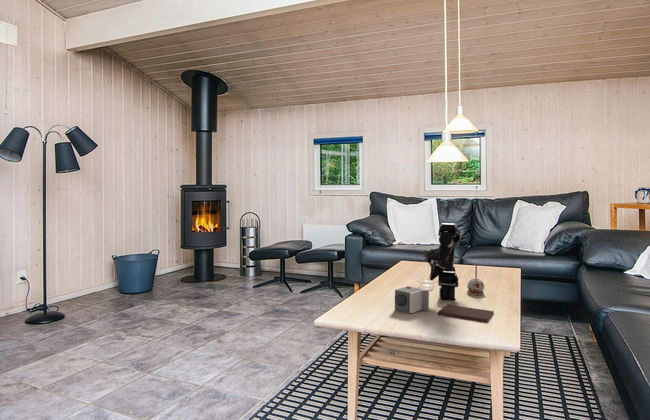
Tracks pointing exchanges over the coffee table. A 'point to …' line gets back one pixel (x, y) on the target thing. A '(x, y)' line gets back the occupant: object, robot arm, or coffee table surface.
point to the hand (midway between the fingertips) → (430, 280)
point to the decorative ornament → (475, 285)
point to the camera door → (419, 301)
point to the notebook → (466, 313)
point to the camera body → (403, 298)
